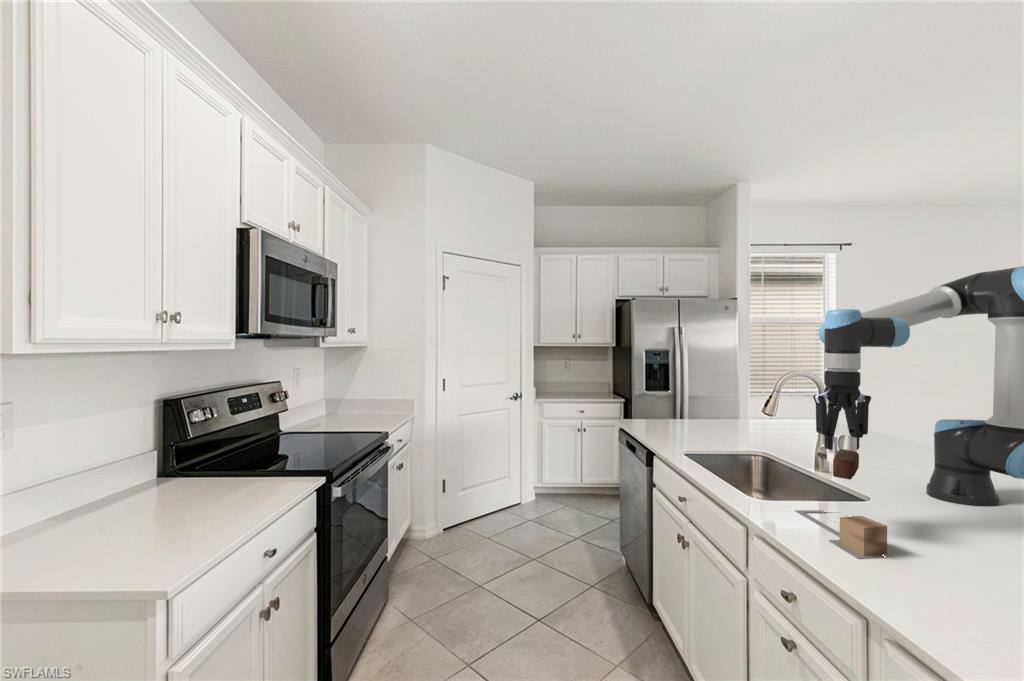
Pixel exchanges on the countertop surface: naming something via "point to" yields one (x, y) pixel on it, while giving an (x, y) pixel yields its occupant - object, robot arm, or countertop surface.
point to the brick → (845, 464)
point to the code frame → (803, 512)
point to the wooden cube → (863, 535)
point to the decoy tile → (855, 552)
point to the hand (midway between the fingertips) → (841, 461)
